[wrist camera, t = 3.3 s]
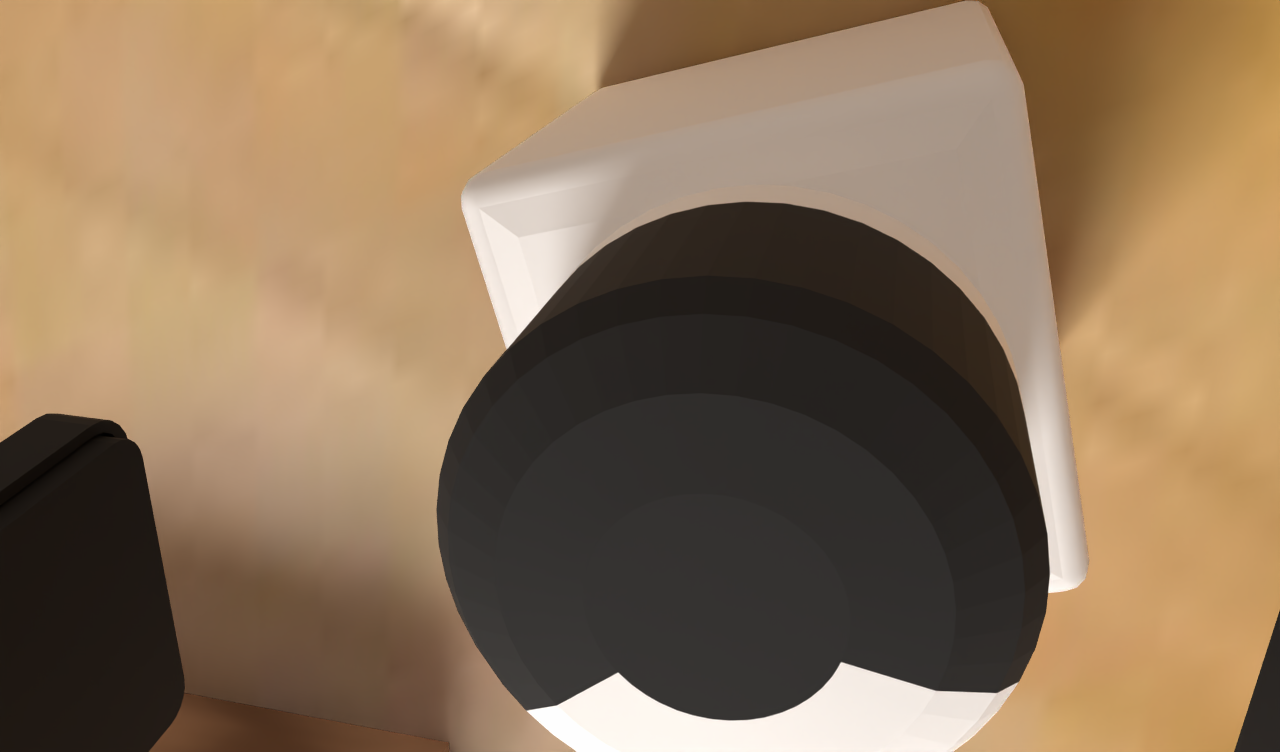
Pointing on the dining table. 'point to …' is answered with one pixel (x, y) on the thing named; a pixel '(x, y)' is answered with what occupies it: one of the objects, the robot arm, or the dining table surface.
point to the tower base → (275, 732)
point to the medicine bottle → (770, 403)
